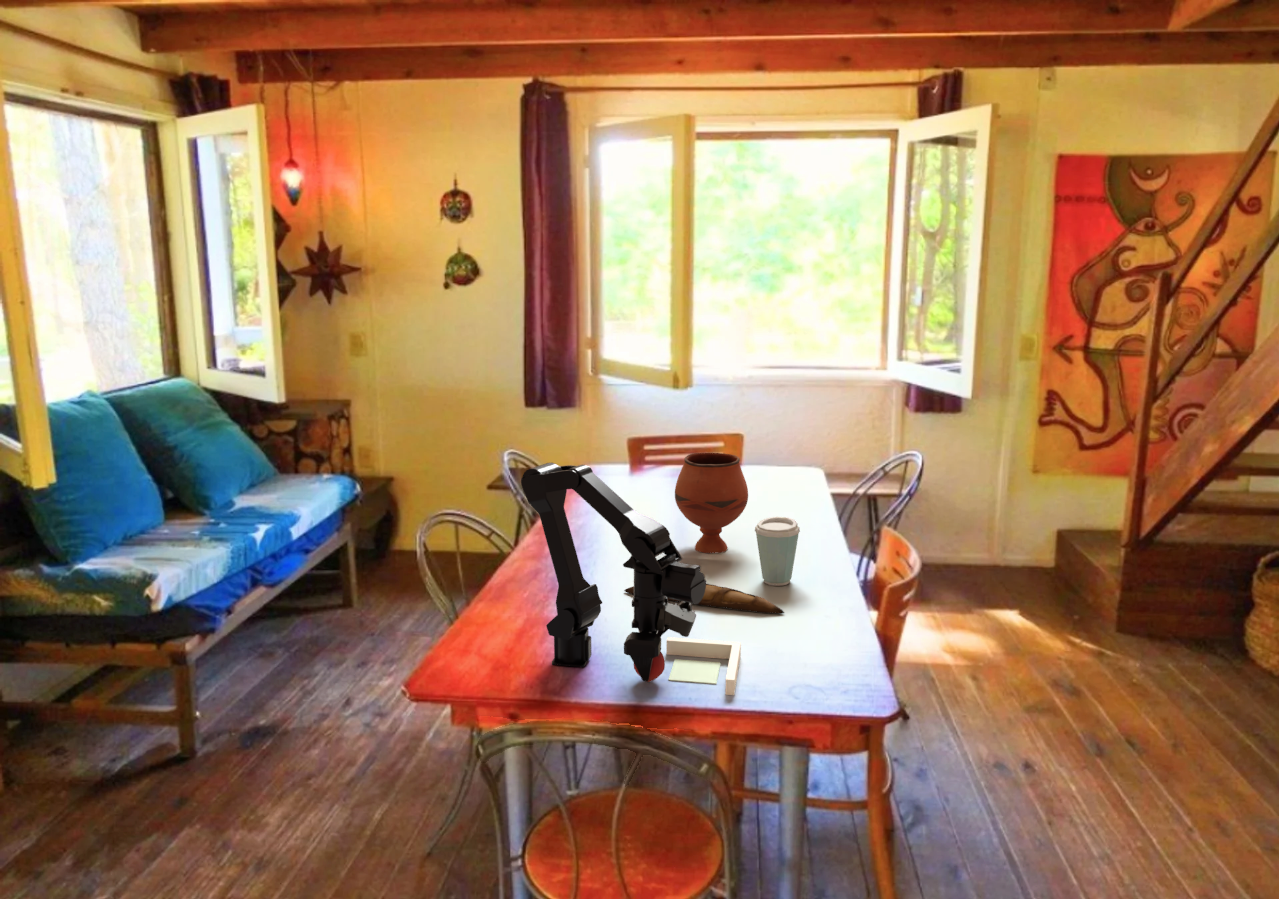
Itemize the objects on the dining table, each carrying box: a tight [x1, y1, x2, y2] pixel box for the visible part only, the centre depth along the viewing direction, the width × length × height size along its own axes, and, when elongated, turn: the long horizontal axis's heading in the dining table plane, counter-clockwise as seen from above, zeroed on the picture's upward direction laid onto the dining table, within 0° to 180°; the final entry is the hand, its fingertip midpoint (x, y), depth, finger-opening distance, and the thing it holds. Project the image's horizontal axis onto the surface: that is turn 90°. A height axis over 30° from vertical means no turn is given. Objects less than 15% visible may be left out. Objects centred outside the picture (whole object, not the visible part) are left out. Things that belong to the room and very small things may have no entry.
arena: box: [665, 636, 742, 696], centre depth 181 cm, size 15×17×3 cm
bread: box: [623, 583, 786, 615], centre depth 215 cm, size 38×5×5 cm, turn 70°
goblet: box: [674, 452, 749, 554], centre depth 251 cm, size 19×19×25 cm
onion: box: [633, 651, 666, 683], centre depth 177 cm, size 6×6×8 cm
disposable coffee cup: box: [754, 516, 801, 587], centre depth 228 cm, size 11×11×15 cm
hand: (649, 671), depth 177 cm, fingers open, 7 cm apart
